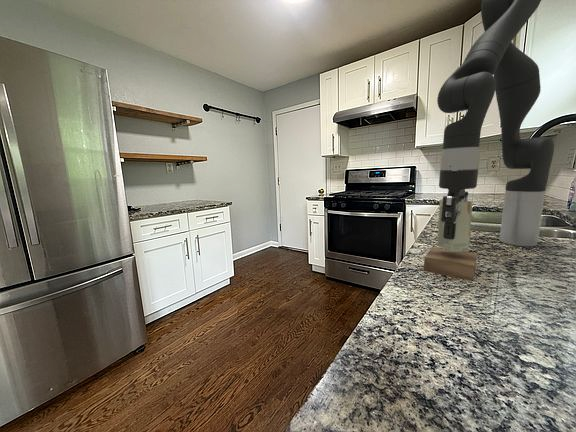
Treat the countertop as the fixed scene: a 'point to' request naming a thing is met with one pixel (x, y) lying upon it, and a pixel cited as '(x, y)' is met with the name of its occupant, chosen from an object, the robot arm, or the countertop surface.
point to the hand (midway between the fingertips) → (452, 235)
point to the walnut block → (450, 263)
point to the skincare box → (457, 229)
